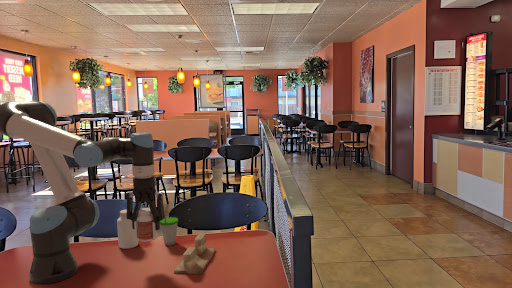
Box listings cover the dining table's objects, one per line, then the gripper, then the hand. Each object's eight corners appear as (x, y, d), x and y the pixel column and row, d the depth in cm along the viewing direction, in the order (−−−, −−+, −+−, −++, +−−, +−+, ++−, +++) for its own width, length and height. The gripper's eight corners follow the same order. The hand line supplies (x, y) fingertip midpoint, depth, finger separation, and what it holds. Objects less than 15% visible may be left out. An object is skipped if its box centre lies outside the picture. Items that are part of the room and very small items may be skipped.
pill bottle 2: (157, 239, 140) (156, 210, 139) (140, 243, 137) (139, 213, 136) (152, 234, 146) (150, 205, 144) (135, 238, 142) (134, 208, 141)
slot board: (174, 273, 136) (172, 254, 135) (191, 250, 156) (190, 233, 155) (201, 274, 135) (200, 254, 134) (215, 250, 154) (214, 233, 153)
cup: (174, 238, 169) (172, 205, 167) (183, 243, 163) (181, 209, 161) (157, 243, 164) (155, 209, 162) (166, 248, 158) (163, 213, 156)
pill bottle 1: (142, 243, 164) (140, 209, 162) (127, 250, 157) (124, 215, 155) (130, 240, 168) (127, 207, 166) (114, 247, 161) (111, 212, 159)
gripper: (113, 177, 136) (116, 240, 139) (165, 179, 133) (168, 243, 136) (123, 173, 143) (126, 233, 146) (173, 174, 140) (175, 235, 144)
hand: (146, 237), depth 141 cm, fingers closed on pill bottle 2, 6 cm apart
